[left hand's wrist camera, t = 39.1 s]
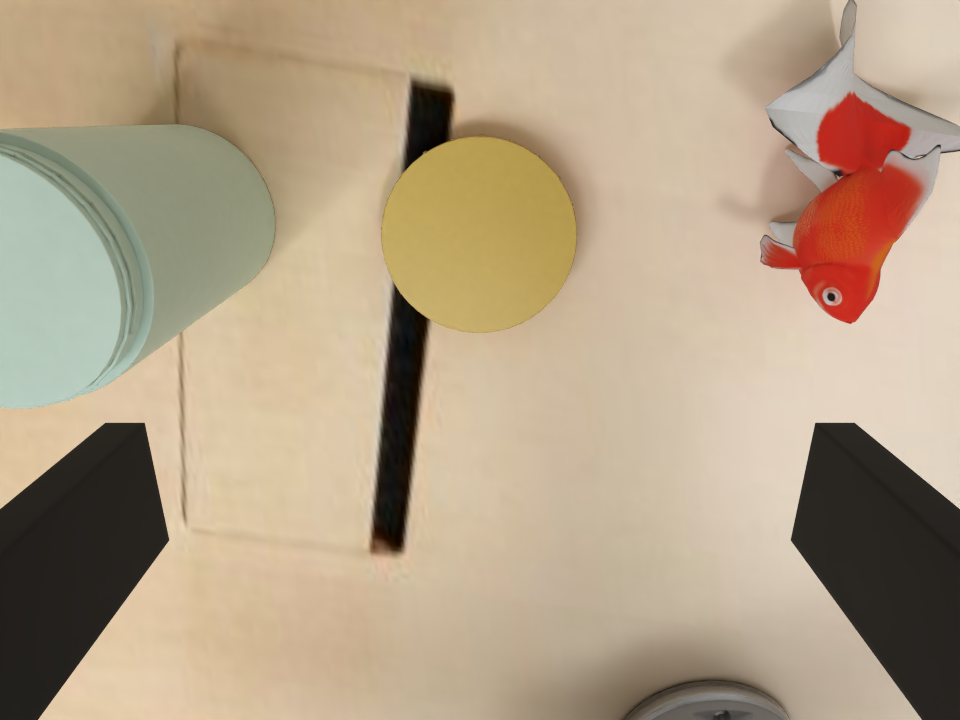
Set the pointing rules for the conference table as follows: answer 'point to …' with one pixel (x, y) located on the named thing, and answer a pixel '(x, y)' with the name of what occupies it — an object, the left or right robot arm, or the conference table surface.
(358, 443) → the conference table surface
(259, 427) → the conference table surface
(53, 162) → the jar
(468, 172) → the lid
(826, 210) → the fish
